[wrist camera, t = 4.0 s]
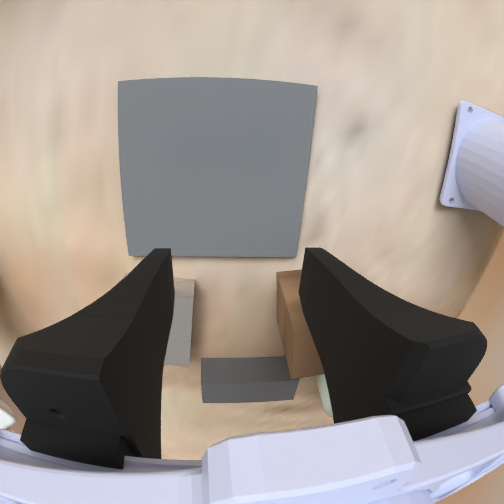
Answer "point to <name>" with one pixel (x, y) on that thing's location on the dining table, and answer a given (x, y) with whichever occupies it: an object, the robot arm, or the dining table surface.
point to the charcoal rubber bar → (246, 380)
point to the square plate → (6, 415)
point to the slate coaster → (214, 165)
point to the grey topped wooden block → (180, 323)
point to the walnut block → (295, 328)
